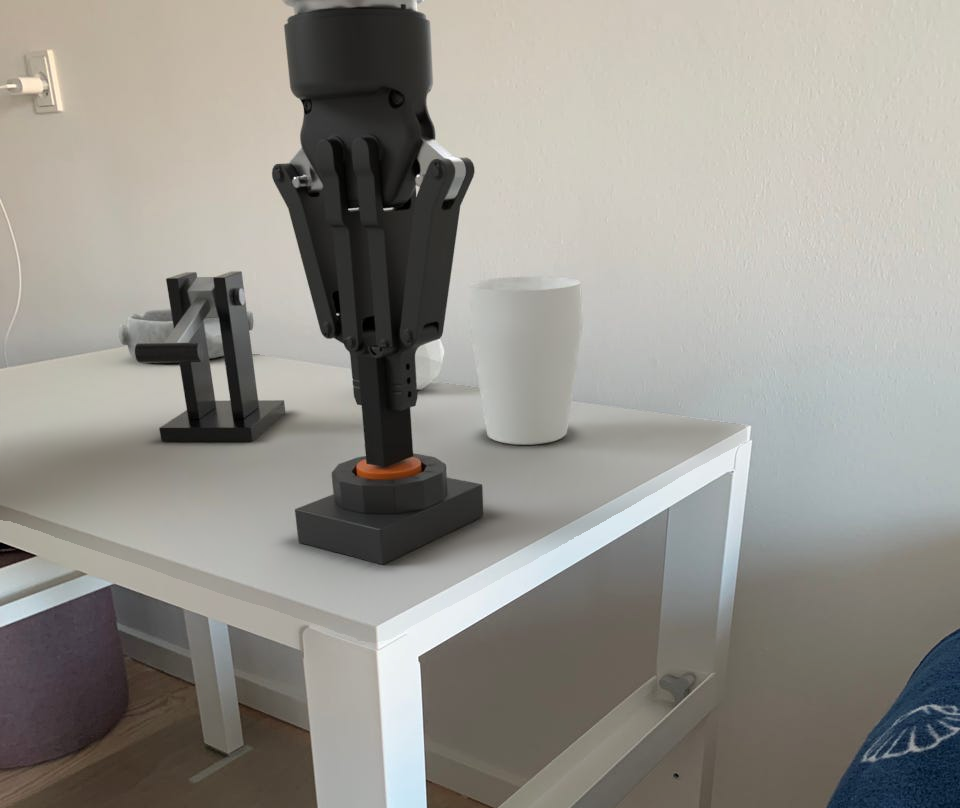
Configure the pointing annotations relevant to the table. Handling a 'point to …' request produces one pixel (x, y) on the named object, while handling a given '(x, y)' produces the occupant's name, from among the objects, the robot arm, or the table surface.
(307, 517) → the block
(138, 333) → the dish
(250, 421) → the switch bracket
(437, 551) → the table surface
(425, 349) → the ornament
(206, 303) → the switch
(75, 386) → the table surface
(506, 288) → the cup
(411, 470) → the button
